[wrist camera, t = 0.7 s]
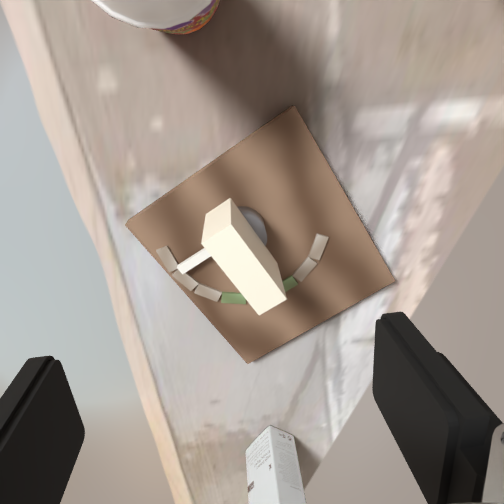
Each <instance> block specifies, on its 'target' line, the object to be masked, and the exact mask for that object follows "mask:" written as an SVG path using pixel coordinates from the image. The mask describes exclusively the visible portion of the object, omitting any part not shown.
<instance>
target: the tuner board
mask: <svg viewBox="0 0 504 504" xmlns="http://www.w3.org/2000/svg"><path fill="white" fill-rule="evenodd" d="M229 198H231V199H232V201H233V202H234V203H235V205H236V206H237V207H238V206H246V207H250V208H252V209H254V210H255V211H257V212H258V213H259V214H260V215H261V217H262V219H263V222H264V226H265V230H266V234H267V243H266V246H265V247H266V248H267V249H268V251H269V252H270V253H271V255H272V256H273V258H274V259H275V260H276V262H277V264H278V268H279V271H280V275H281V279H282V283H283V286H284V290H285V294H286V298H287V300H285V301H283V302H281V303H280V304H278V305H276V306H275V307H273V308H271V309H269V310H268V311H266V312H264V313H263V314H261V315H258V314H257V312H256V311H255V310H254V309H253V308H252V306H251V305H250V304H249V303H248V301H247V300H246V299H245V298H244V296H243V295H242V294H241V293H240V291H239V290H238V289H237V288H236V286H235V285H234V284H233V283H232V281H231V280H230V279H229V278H228V276H227V275H226V274H225V273H224V271H223V270H222V269H221V268H220V266H219V265H218V264H217V263H216V261H215V260H214V259H213V258H212V256H211V257H209V258H207V259H206V260H204V261H203V262H201V263H200V264H198V265H196V266H195V267H193V268H192V269H190V270H189V271H187V272H186V273H184V274H182V273H181V272H180V271H179V270H178V269H177V265H178V264H180V263H181V262H183V261H185V260H186V259H188V258H189V257H191V256H192V255H194V254H195V253H197V252H198V251H200V250H202V249H203V248H204V246H203V245H202V244H201V242H202V235H203V229H204V222H205V216H206V214H207V213H208V212H210V211H211V210H213V209H214V208H216V207H217V206H219V205H220V204H222V203H223V202H225V201H226V200H228V199H229ZM125 226H126V227H127V228H128V229H129V230H130V231H131V232H132V233H133V235H134V236H135V237H136V238H137V239H138V240H139V241H140V243H141V244H142V245H143V246H144V247H145V248H146V249H147V250H148V252H149V253H150V254H151V255H152V256H153V257H154V258H155V260H156V261H157V262H158V263H159V264H160V265H161V266H162V268H163V269H164V270H165V271H166V272H167V273H168V274H169V275H170V277H171V278H172V279H173V280H174V281H175V282H176V283H177V285H178V286H179V287H180V288H181V289H182V290H183V291H184V292H185V294H186V295H187V296H188V297H189V298H190V299H191V300H192V302H193V303H194V304H195V305H196V306H197V307H198V308H199V309H200V311H201V312H202V313H203V314H204V315H205V316H206V317H207V319H208V320H209V321H210V322H211V323H212V324H213V325H214V327H215V328H216V329H217V330H218V331H219V332H220V333H221V334H222V336H223V337H224V338H225V339H226V340H227V341H228V342H229V344H230V345H231V346H232V347H233V348H234V349H235V350H236V351H237V353H238V354H239V355H240V356H241V357H242V358H243V359H244V361H245V362H246V363H247V364H249V363H251V362H252V361H254V360H256V359H258V358H260V357H261V356H263V355H265V354H267V353H268V352H270V351H272V350H274V349H275V348H277V347H279V346H281V345H283V344H284V343H286V342H288V341H290V340H291V339H293V338H295V337H297V336H299V335H300V334H302V333H304V332H306V331H307V330H309V329H311V328H313V327H315V326H316V325H318V324H320V323H322V322H323V321H325V320H327V319H329V318H331V317H332V316H334V315H336V314H338V313H339V312H341V311H343V310H345V309H347V308H348V307H350V306H352V305H354V304H355V303H357V302H359V301H361V300H363V299H364V298H366V297H368V296H370V295H371V294H373V293H375V292H377V291H378V290H380V289H382V288H384V287H386V286H387V285H389V284H391V283H393V282H394V281H395V280H394V278H393V276H392V274H391V273H390V271H389V269H388V267H387V266H386V264H385V262H384V260H383V259H382V257H381V255H380V253H379V252H378V250H377V248H376V246H375V245H374V243H373V241H372V240H371V238H370V236H369V234H368V233H367V231H366V229H365V227H364V226H363V224H362V222H361V220H360V219H359V217H358V215H357V213H356V212H355V210H354V208H353V206H352V205H351V203H350V201H349V199H348V198H347V196H346V194H345V192H344V191H343V189H342V187H341V185H340V184H339V182H338V180H337V179H336V177H335V175H334V173H333V172H332V170H331V168H330V166H329V165H328V163H327V161H326V159H325V158H324V156H323V154H322V152H321V151H320V149H319V147H318V145H317V144H316V142H315V140H314V138H313V137H312V135H311V133H310V131H309V130H308V128H307V126H306V124H305V123H304V121H303V119H302V118H301V116H300V114H299V112H298V111H297V109H296V107H295V106H293V105H292V106H291V107H289V108H288V109H287V110H285V111H284V112H282V113H281V114H279V115H278V116H277V117H275V118H274V119H272V120H271V121H269V122H268V123H266V124H265V125H264V126H262V127H261V128H259V129H258V130H256V131H255V132H254V133H252V134H251V135H249V136H248V137H246V138H245V139H244V140H242V141H241V142H239V143H238V144H236V145H235V146H234V147H232V148H231V149H229V150H228V151H226V152H225V153H223V154H222V155H221V156H219V157H218V158H216V159H215V160H213V161H212V162H211V163H209V164H208V165H206V166H205V167H203V168H202V169H201V170H199V171H198V172H196V173H195V174H193V175H192V176H191V177H189V178H188V179H186V180H185V181H183V182H182V183H181V184H179V185H178V186H176V187H175V188H173V189H172V190H170V191H169V192H168V193H166V194H165V195H163V196H162V197H160V198H159V199H158V200H156V201H155V202H153V203H152V204H150V205H149V206H148V207H146V208H145V209H143V210H142V211H140V212H139V213H138V214H136V215H135V216H133V217H132V218H130V219H129V220H128V221H127V223H126V224H125Z"/></svg>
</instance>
